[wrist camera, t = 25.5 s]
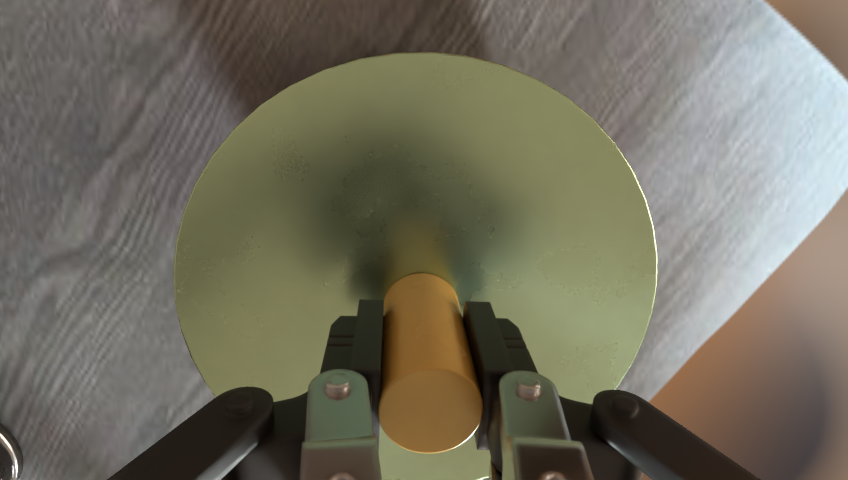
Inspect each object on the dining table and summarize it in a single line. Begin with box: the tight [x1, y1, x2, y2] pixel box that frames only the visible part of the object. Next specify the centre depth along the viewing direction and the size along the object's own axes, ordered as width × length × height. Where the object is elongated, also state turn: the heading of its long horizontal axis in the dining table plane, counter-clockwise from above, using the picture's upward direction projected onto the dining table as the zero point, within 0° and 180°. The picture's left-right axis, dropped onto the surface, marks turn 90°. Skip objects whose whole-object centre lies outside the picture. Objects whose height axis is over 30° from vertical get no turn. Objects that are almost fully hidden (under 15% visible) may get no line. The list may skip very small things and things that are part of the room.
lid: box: [173, 52, 657, 480], centre depth 14 cm, size 15×15×6 cm
